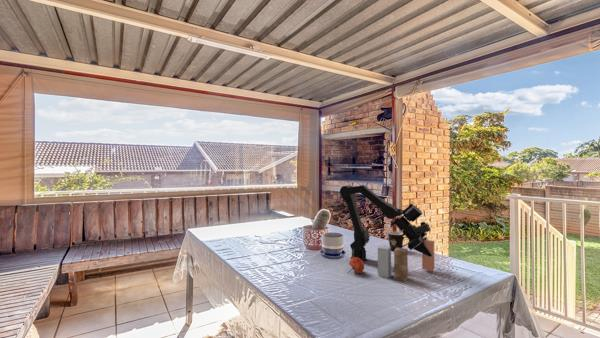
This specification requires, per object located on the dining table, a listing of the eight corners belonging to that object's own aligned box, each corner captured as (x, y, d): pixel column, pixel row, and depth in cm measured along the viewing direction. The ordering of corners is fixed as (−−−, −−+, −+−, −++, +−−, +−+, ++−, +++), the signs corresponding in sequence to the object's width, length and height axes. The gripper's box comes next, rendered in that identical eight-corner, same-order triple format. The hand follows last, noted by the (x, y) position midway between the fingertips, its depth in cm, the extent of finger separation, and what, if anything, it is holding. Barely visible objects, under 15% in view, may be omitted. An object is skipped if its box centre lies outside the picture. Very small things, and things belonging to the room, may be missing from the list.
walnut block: (394, 279, 119) (394, 250, 119) (397, 275, 123) (396, 247, 123) (405, 281, 117) (405, 251, 117) (407, 277, 121) (407, 249, 121)
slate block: (378, 276, 123) (377, 247, 123) (381, 272, 127) (380, 245, 127) (388, 278, 121) (388, 249, 121) (391, 274, 124) (390, 246, 124)
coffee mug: (385, 249, 163) (384, 232, 163) (396, 247, 167) (396, 231, 167) (399, 255, 152) (399, 236, 153) (411, 252, 156) (411, 235, 156)
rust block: (422, 269, 127) (422, 241, 127) (423, 266, 131) (423, 239, 131) (433, 271, 125) (433, 243, 125) (434, 268, 128) (434, 241, 128)
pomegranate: (353, 281, 123) (371, 267, 123) (342, 267, 124) (360, 253, 124) (351, 276, 130) (368, 263, 130) (341, 263, 131) (358, 250, 131)
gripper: (415, 220, 122) (443, 249, 116) (422, 214, 138) (447, 239, 132) (396, 235, 126) (423, 264, 120) (405, 228, 142) (429, 253, 136)
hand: (431, 254), depth 127 cm, fingers closed on rust block, 4 cm apart
